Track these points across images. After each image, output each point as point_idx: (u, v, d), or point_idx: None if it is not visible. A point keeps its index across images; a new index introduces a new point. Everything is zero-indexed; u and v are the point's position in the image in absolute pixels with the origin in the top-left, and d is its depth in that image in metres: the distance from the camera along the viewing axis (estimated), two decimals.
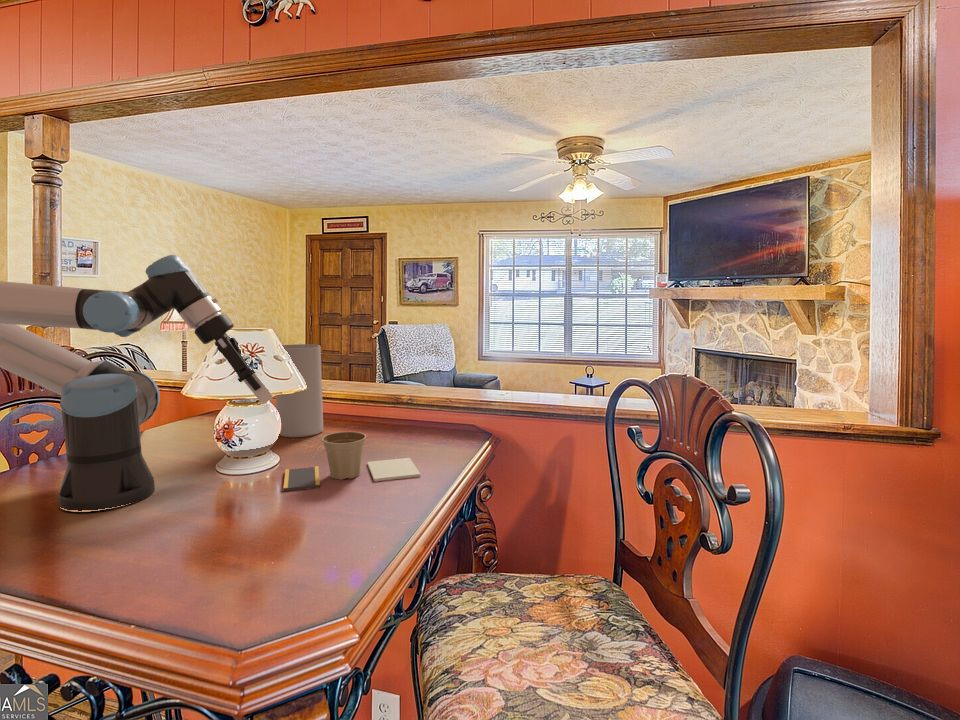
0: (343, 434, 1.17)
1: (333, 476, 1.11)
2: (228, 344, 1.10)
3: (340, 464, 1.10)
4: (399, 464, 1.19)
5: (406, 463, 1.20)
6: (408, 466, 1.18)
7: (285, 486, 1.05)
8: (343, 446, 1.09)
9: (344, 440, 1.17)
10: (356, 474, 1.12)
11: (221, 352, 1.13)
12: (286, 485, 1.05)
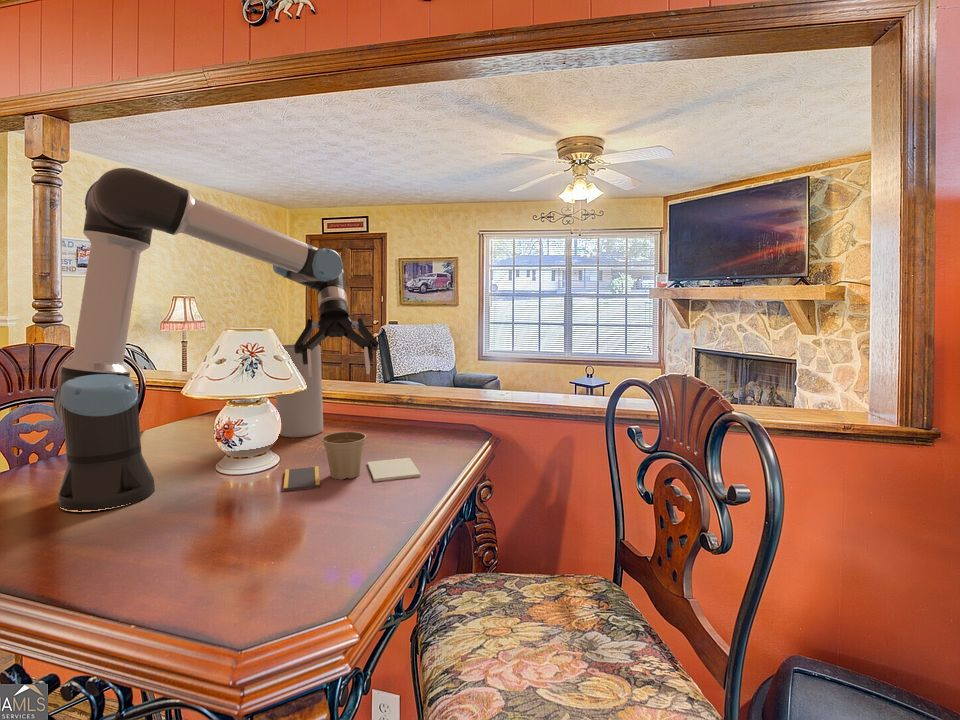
0: (343, 434, 1.17)
1: (333, 476, 1.11)
2: None
3: (340, 464, 1.10)
4: (399, 464, 1.19)
5: (406, 463, 1.20)
6: (408, 466, 1.18)
7: (285, 486, 1.05)
8: (343, 446, 1.09)
9: (344, 440, 1.17)
10: (356, 474, 1.12)
11: (346, 324, 1.32)
12: (286, 485, 1.05)
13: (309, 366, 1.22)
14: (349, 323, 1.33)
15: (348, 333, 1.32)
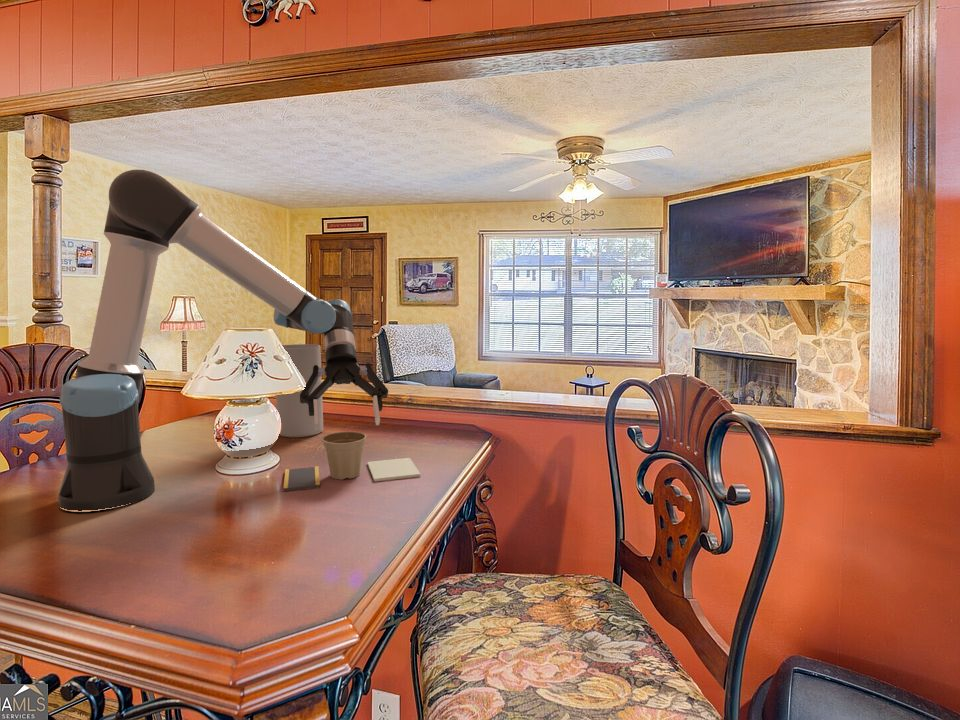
0: (343, 434, 1.17)
1: (333, 476, 1.11)
2: None
3: (340, 464, 1.10)
4: (399, 464, 1.19)
5: (406, 463, 1.20)
6: (408, 466, 1.18)
7: (285, 486, 1.05)
8: (343, 446, 1.09)
9: (344, 440, 1.17)
10: (356, 474, 1.12)
11: (354, 370, 1.26)
12: (286, 485, 1.05)
13: (316, 419, 1.15)
14: (357, 369, 1.27)
15: (356, 380, 1.25)
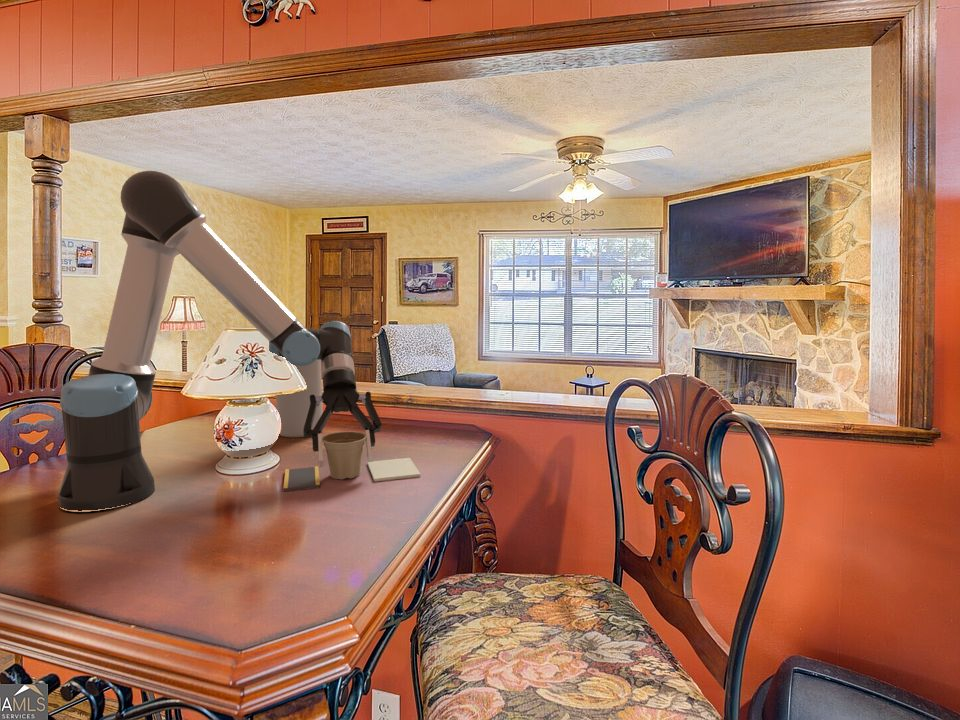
0: (343, 434, 1.17)
1: (333, 476, 1.11)
2: None
3: (340, 464, 1.10)
4: (399, 464, 1.19)
5: (406, 463, 1.20)
6: (408, 466, 1.18)
7: (285, 486, 1.05)
8: (343, 446, 1.09)
9: (344, 440, 1.17)
10: (356, 474, 1.12)
11: (352, 398, 1.18)
12: (286, 485, 1.05)
13: (320, 455, 1.08)
14: (355, 396, 1.20)
15: (352, 409, 1.18)
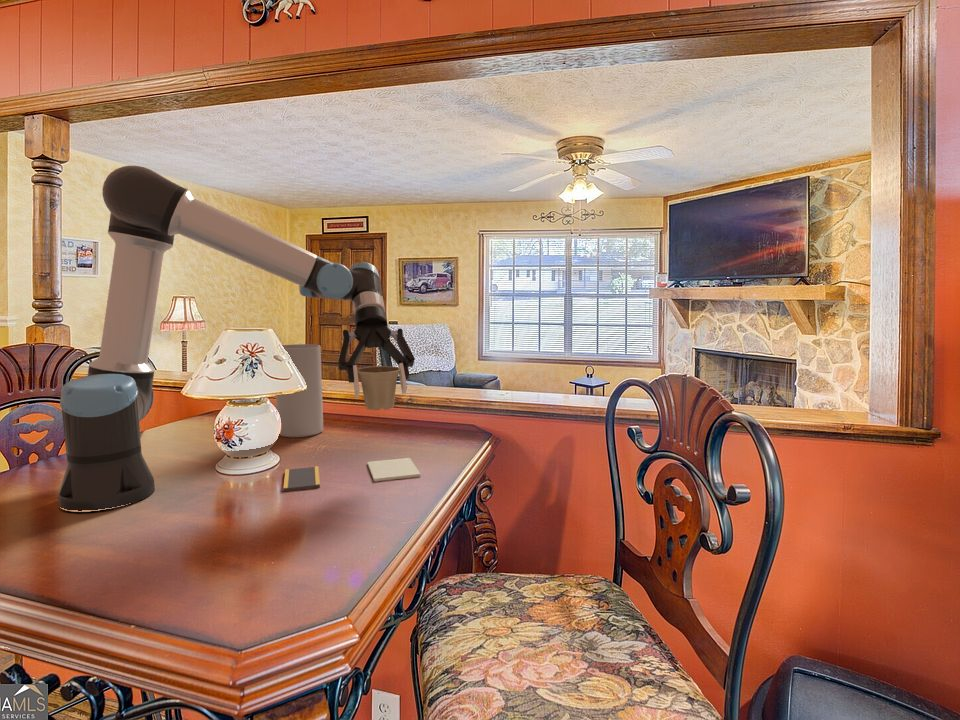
0: (376, 369, 1.18)
1: (368, 407, 1.12)
2: None
3: (376, 395, 1.11)
4: (399, 464, 1.19)
5: (406, 463, 1.20)
6: (408, 466, 1.18)
7: (285, 486, 1.05)
8: (379, 375, 1.09)
9: None
10: (391, 405, 1.13)
11: (384, 334, 1.19)
12: (286, 485, 1.05)
13: (356, 385, 1.09)
14: (387, 332, 1.20)
15: (385, 344, 1.19)
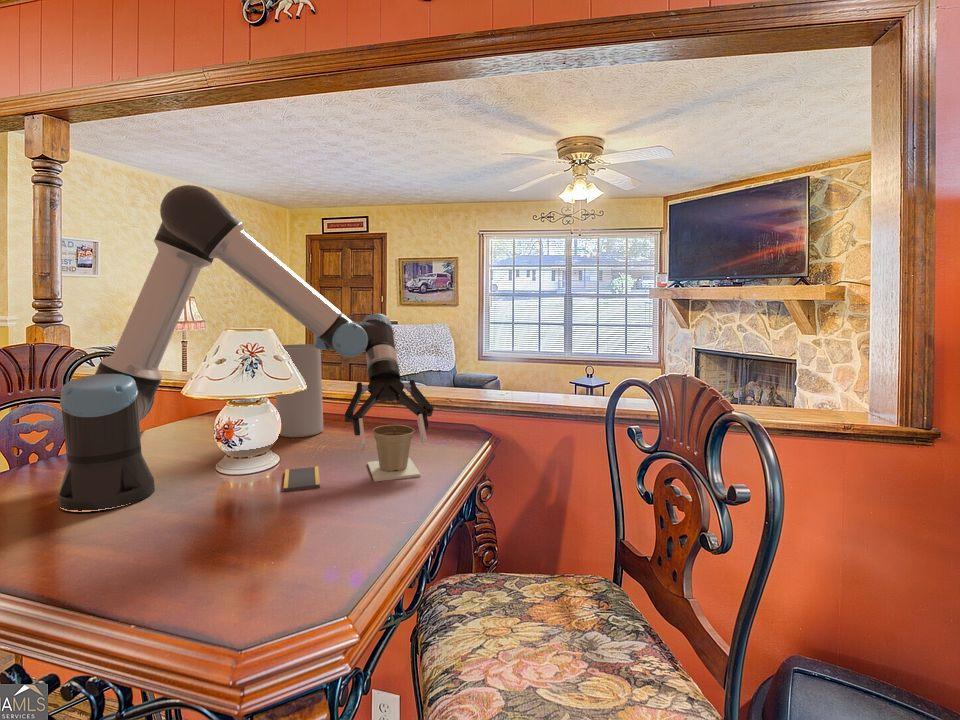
0: (391, 427, 1.20)
1: (382, 467, 1.15)
2: None
3: (390, 456, 1.13)
4: None
5: None
6: (408, 466, 1.18)
7: (285, 486, 1.05)
8: (394, 438, 1.12)
9: (392, 433, 1.20)
10: (404, 466, 1.16)
11: (398, 387, 1.22)
12: (286, 485, 1.05)
13: (362, 439, 1.11)
14: (401, 386, 1.23)
15: (400, 397, 1.21)
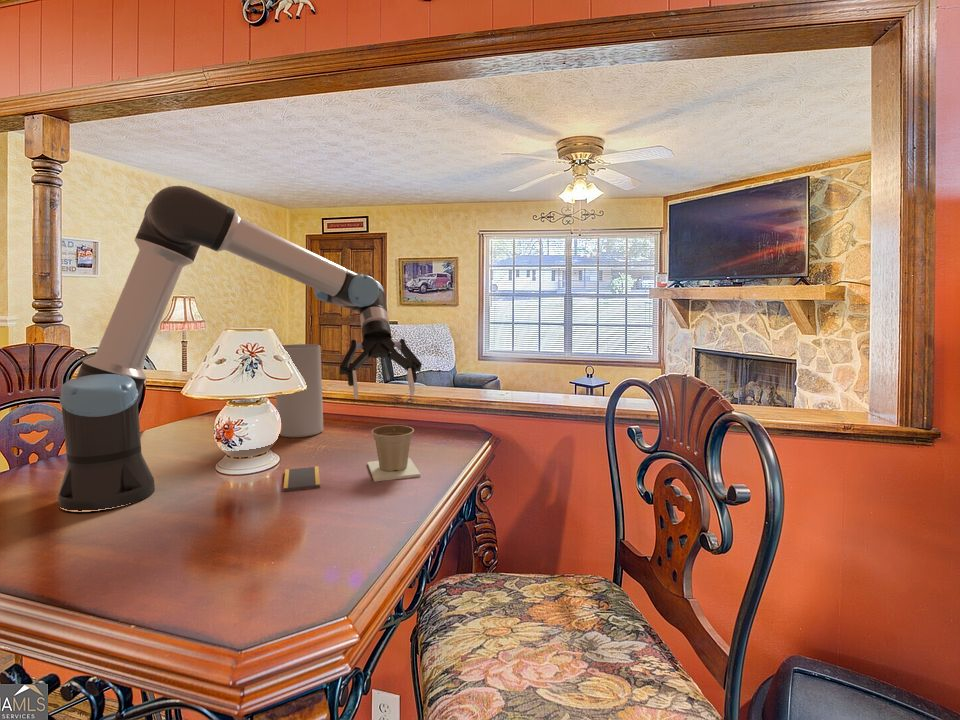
0: (391, 428, 1.20)
1: (382, 468, 1.15)
2: None
3: (390, 456, 1.13)
4: None
5: None
6: (408, 466, 1.18)
7: (285, 486, 1.05)
8: (393, 438, 1.12)
9: (391, 433, 1.20)
10: (404, 466, 1.16)
11: (389, 344, 1.33)
12: (286, 485, 1.05)
13: (355, 388, 1.23)
14: (392, 344, 1.34)
15: (391, 354, 1.32)
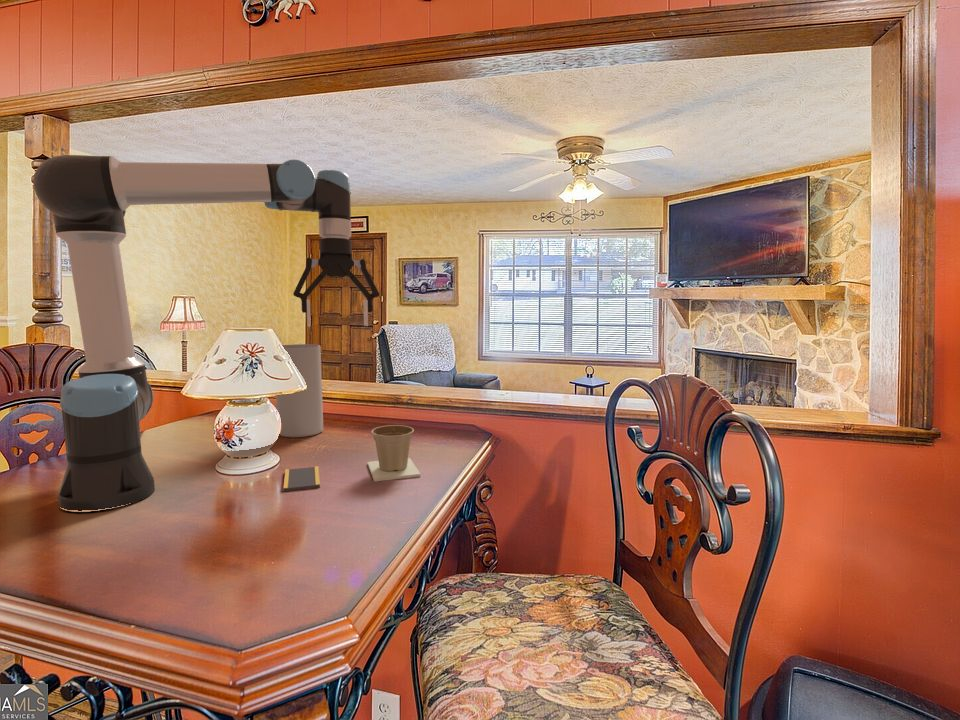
0: (391, 428, 1.20)
1: (382, 468, 1.15)
2: None
3: (390, 456, 1.13)
4: None
5: None
6: (408, 466, 1.18)
7: (285, 486, 1.05)
8: (393, 438, 1.12)
9: (391, 433, 1.20)
10: (404, 466, 1.16)
11: (348, 268, 1.25)
12: (286, 485, 1.05)
13: (308, 321, 1.24)
14: (351, 265, 1.26)
15: (349, 277, 1.27)
